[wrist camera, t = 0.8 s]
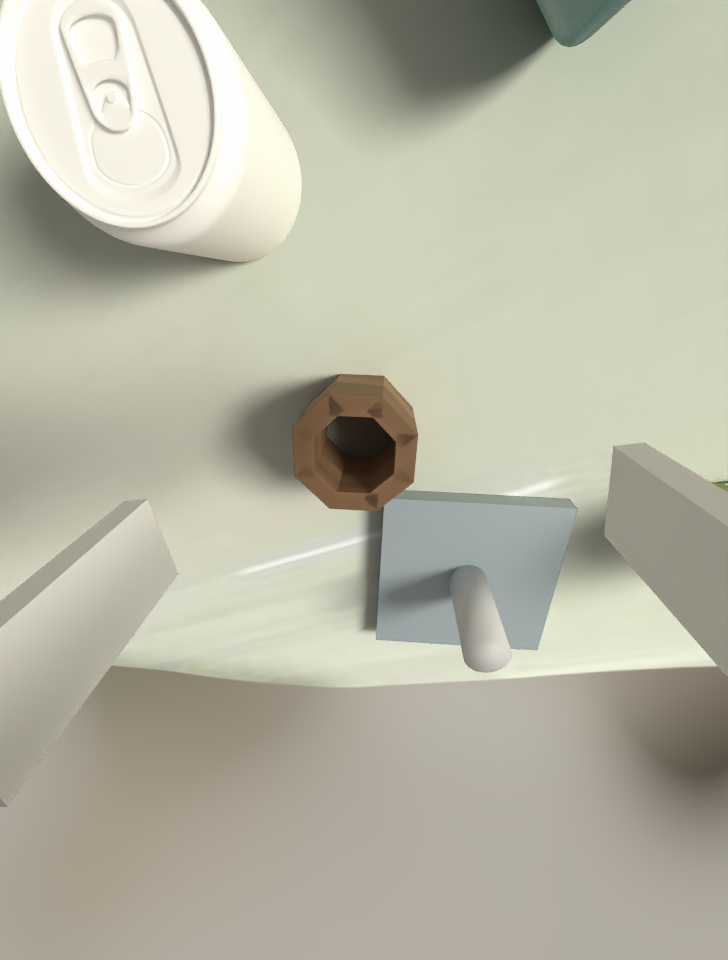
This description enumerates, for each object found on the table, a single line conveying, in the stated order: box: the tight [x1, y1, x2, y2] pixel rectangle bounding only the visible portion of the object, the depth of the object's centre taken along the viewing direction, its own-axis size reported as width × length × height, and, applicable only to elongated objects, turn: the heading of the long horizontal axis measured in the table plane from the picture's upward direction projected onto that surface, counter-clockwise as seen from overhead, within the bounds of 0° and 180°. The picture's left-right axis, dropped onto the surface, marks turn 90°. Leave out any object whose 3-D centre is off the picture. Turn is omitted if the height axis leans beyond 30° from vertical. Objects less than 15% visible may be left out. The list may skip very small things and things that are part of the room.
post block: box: [376, 490, 578, 672], centre depth 30 cm, size 14×14×9 cm
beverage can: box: [0, 0, 301, 262], centre depth 19 cm, size 8×8×12 cm
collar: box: [293, 374, 418, 511], centre depth 27 cm, size 7×7×6 cm
